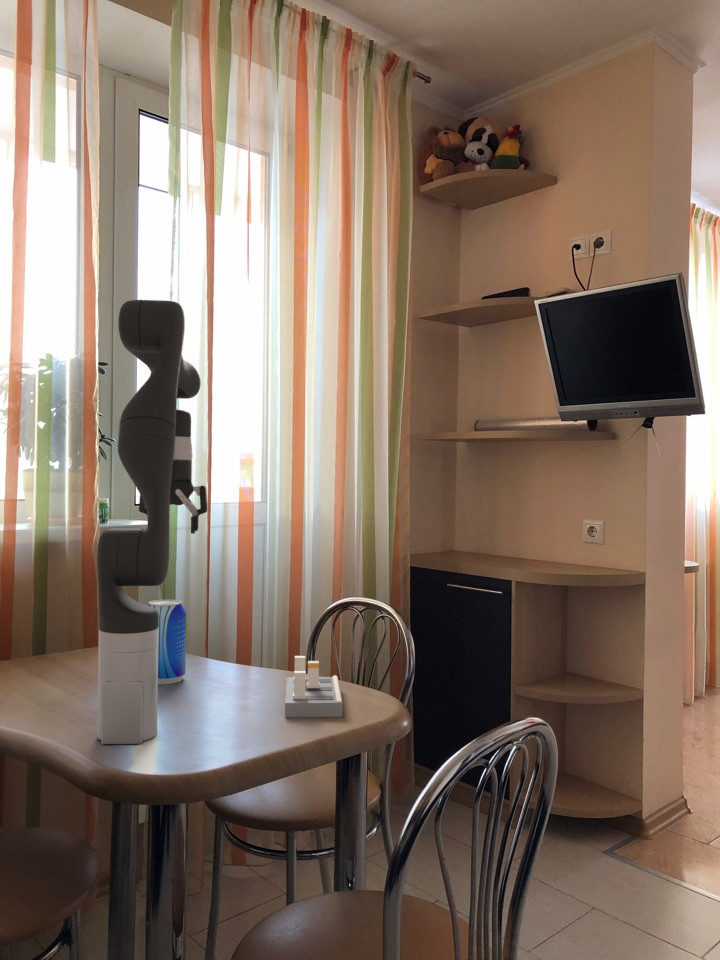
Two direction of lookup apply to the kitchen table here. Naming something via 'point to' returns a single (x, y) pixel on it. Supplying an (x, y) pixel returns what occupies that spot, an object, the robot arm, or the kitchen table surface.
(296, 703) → the breaker panel
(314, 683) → the breaker toggle
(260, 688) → the kitchen table surface
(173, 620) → the beer can
